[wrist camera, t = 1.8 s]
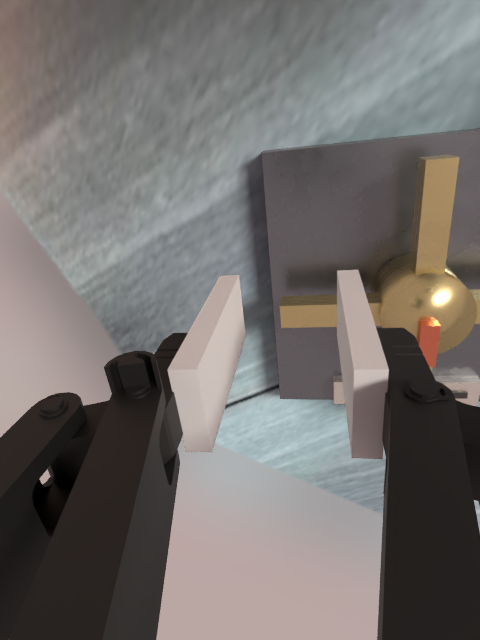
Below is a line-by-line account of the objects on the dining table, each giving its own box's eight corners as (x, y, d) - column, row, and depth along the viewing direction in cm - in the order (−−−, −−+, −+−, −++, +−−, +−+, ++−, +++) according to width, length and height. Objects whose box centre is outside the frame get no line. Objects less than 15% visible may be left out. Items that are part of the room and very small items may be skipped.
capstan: (276, 166, 29) (268, 177, 24) (594, 136, 25) (666, 141, 20) (290, 391, 38) (286, 435, 32) (526, 393, 34) (565, 443, 29)
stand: (264, 150, 30) (258, 154, 27) (595, 116, 26) (635, 116, 23) (281, 386, 40) (278, 410, 37) (524, 388, 36) (546, 415, 33)
